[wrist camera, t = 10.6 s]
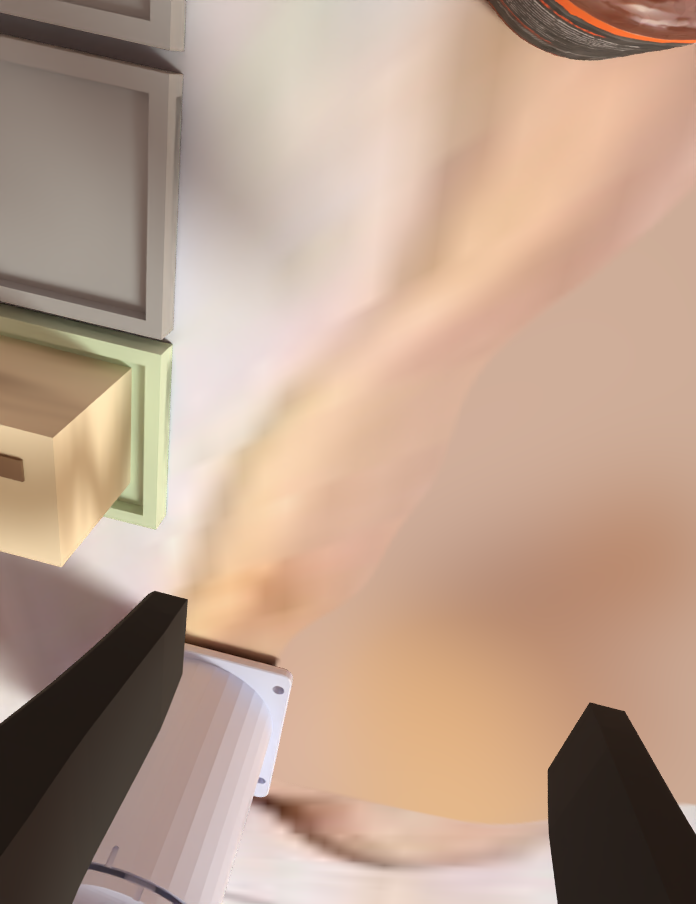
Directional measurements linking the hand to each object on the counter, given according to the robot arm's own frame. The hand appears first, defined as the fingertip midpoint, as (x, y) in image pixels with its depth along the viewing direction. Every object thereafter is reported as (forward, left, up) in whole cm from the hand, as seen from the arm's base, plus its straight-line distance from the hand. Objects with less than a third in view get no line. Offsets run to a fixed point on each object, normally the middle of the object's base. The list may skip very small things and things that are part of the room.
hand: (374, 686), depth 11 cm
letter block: (-3, +12, -10) cm, 15 cm away
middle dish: (+4, +12, -10) cm, 16 cm away
